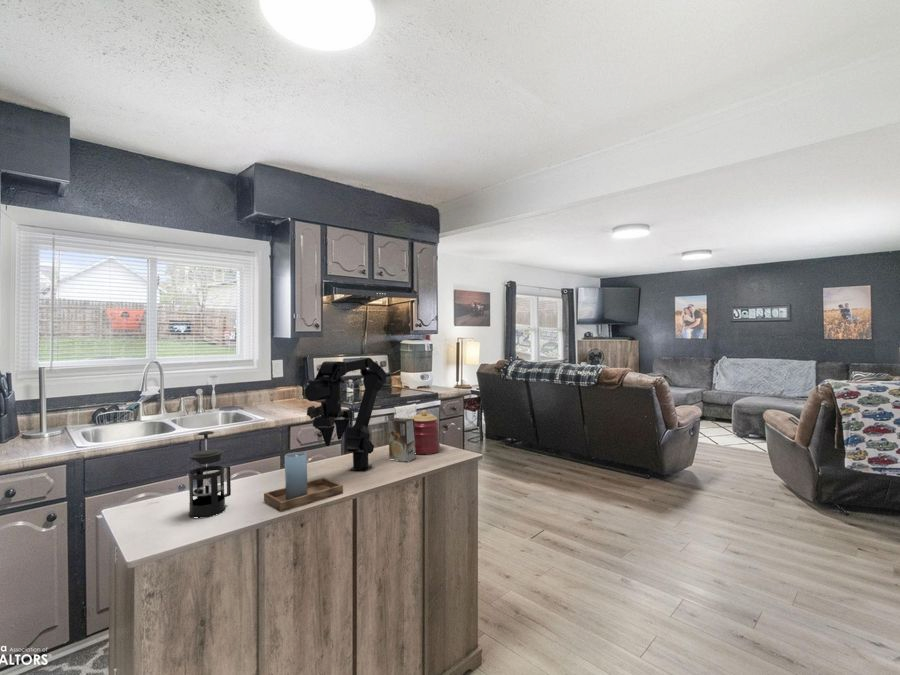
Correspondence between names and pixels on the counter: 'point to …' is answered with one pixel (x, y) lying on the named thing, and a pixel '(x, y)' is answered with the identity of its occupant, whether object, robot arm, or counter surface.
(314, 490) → the tray
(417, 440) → the canister
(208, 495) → the french press
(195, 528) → the counter surface
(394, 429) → the coffee box
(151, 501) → the counter surface
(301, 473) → the cup
